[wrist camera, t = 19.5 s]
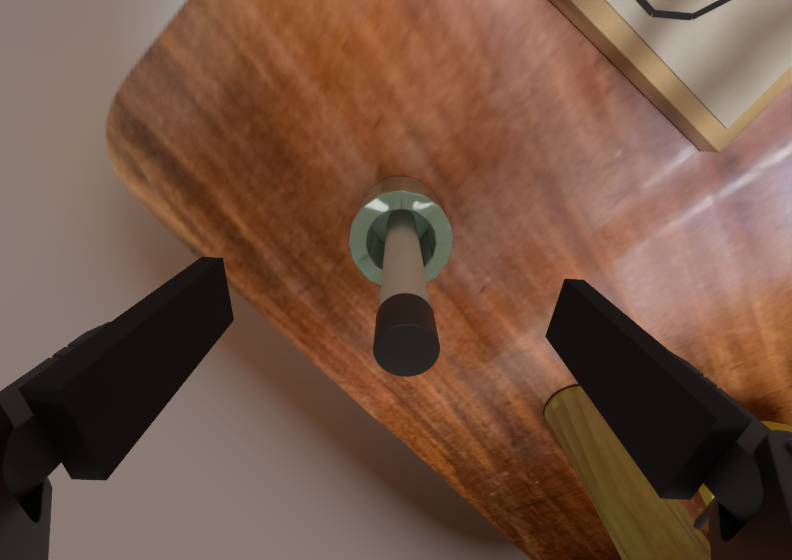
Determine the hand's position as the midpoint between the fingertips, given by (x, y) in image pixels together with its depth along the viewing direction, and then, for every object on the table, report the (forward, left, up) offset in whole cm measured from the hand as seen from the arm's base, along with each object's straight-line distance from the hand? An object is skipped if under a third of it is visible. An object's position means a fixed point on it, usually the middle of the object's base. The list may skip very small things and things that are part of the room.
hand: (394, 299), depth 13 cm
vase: (+25, -6, -12) cm, 29 cm away
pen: (0, 0, -11) cm, 12 cm away
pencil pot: (0, 0, -12) cm, 12 cm away
